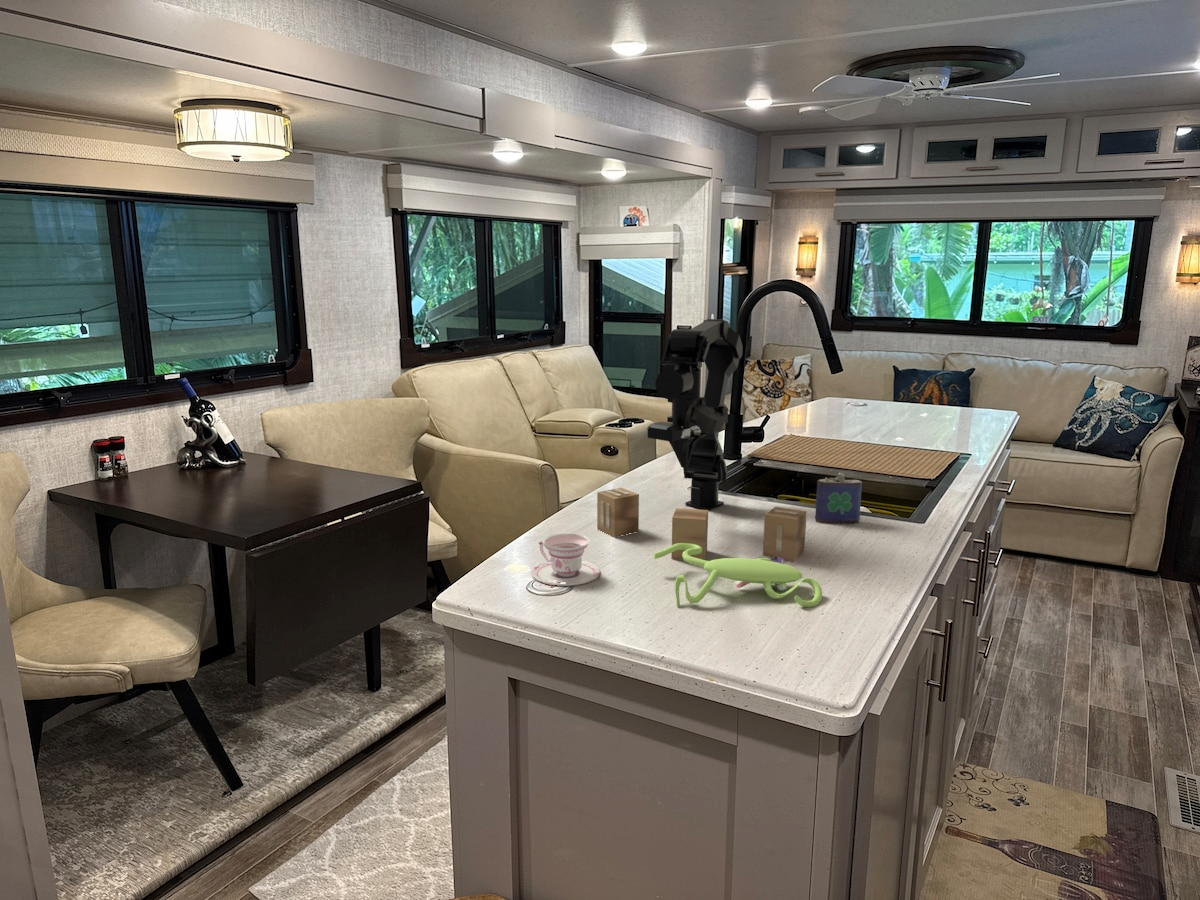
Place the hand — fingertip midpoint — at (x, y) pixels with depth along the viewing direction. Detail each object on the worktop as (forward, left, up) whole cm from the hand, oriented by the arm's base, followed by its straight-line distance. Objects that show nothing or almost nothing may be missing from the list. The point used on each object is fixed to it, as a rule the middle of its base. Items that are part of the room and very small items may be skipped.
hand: (684, 467), depth 168 cm
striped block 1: (+13, -7, -12) cm, 19 cm away
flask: (-22, +24, -12) cm, 35 cm away
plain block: (+15, +12, -12) cm, 23 cm away
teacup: (+37, +1, -12) cm, 39 cm away
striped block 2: (+3, +25, -12) cm, 28 cm away
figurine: (+23, +26, -13) cm, 37 cm away
